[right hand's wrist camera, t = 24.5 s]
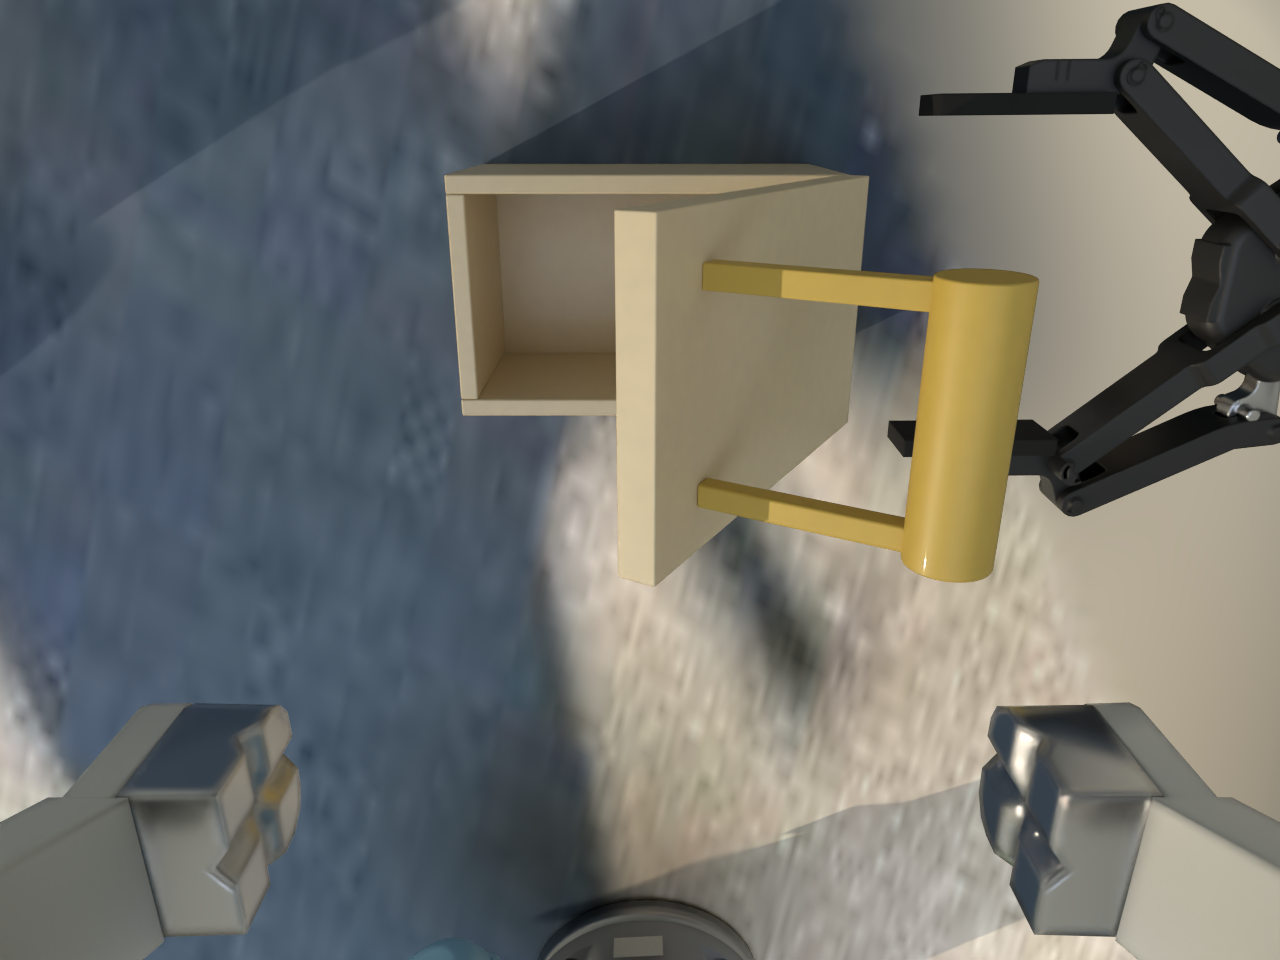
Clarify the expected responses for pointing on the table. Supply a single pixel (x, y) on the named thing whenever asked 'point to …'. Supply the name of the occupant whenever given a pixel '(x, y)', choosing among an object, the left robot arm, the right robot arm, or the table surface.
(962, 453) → the lid
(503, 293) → the chest
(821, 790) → the table surface
